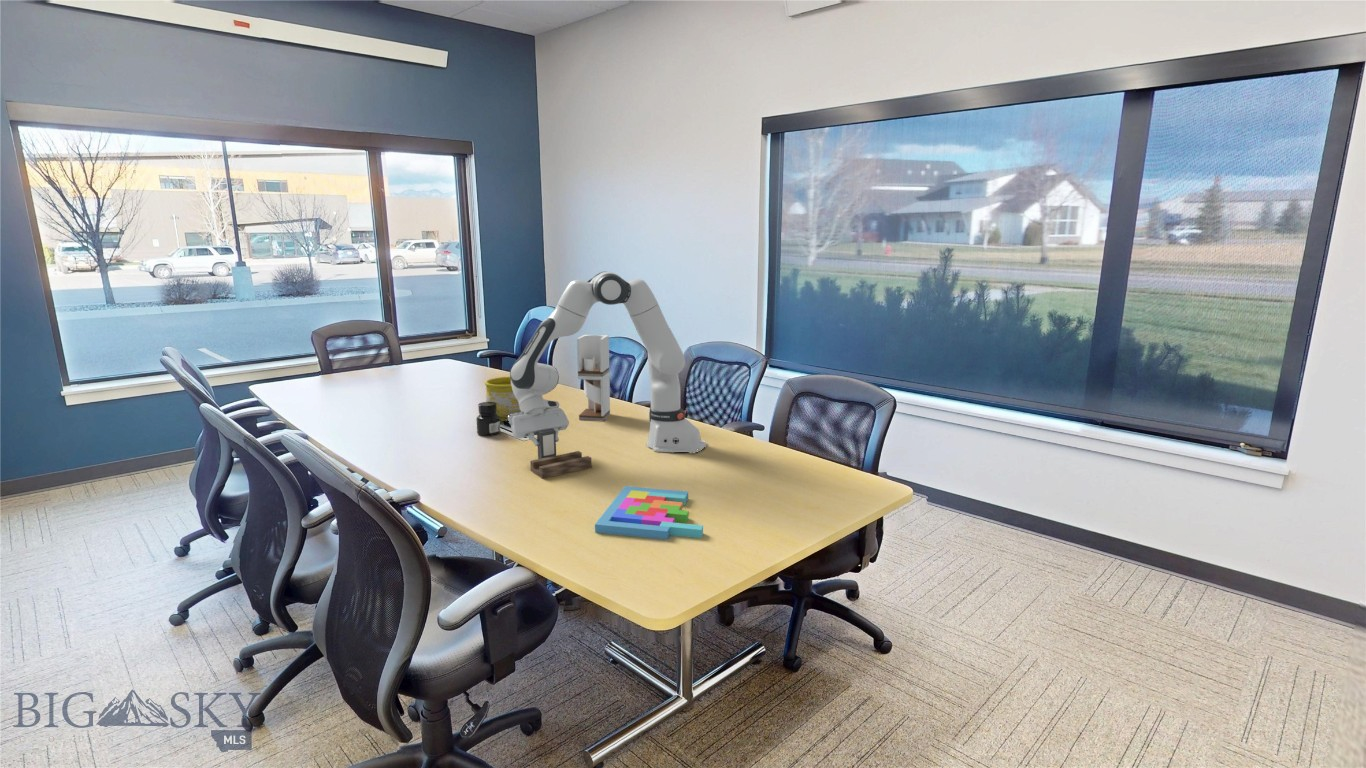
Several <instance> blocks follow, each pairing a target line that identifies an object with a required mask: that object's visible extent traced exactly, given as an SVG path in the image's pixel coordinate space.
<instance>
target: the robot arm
mask: <svg viewBox="0 0 1366 768" xmlns="http://www.w3.org/2000/svg"><path fill="white" fill-rule="evenodd" d="M598 302H599V303H602V304H605V305H609V306H610V305H611V306H612V305H613V306H614V305H620V304H623V305H624V307H625V309H626V311H627V313H628V315H629V317H630V319H631V321H632V324H633V326H634V327H635V330H636V331H637V333H638V334H637V335H638V336H639V338H640V340H641V341H642V343H643V345H644V347H645V349H646V352H647V363H648V366H647V367H648V375H649V382H650V383H649V384H650V407H649V413H648V417H649V422H650V423H649V431H648V436H647V437H648V438H647V441H646V446H647V447H648V448H650V449H653V451H654V452H657V453H674V452H697V451H700V450H701V449H703V448H704V447H705V446H706V447H707V441H706V440H704V439H703V440H702V439H701V433H700V430H699V428H698V427H697V426H696V425H694V424H693V423H692V422H691V421H690V420H688V419H687V418H686V413H687V409H685V410H684V409H683V408H682V407H681V384H680V379H679V374H680V373H681V372H682V371H683V369H684V367H685V366H686V359H685V355H684V353H683V351H682V348H681V347H680V344H679V343H678V340H677V339H676V336H675V335H674V334H673V332H672V330H671V328H670V326H669V324H668V322H667V320H666V317H665V316H664V313H663V312H662V310H661V306H660V305H659V301H657V298H656V297H655V294H654V293H653V291H652V289H651V287H649V285H648V284H647V282H646V281H645V280H643V279H641V278H640V279H639V278H635V279H632V280H629V281H627V280H625V279H623V278H622V277H621V276H619V274H617V273H615V272H613V271H602V272H599V273H597V274H596V275H594V276H593V277H592V278H590V279H589V280H587V281H585V280H582V279H574V280H571V281H570V282H569V283H568V285H567V286H566V288H565V289H564V291H563V293H562V294H561V296H560V298H559V300H558V302H557V304H556V306H555V308H554V309H553V311H552V312H551V314H549V316H548V317H546V318H545V319H543V320H542V321H541V323H540V324H539V325H538V327H537V328H536V329H535V331H534V333H533V335H532V336H531V338H530V340H529V341H528V343H527V344H526V346H525V348H524V350H523V351H522V353H521V354H520V356H519V357H518V358H517V359H516V361H515V362H514V363H513V364H512V366H511V368H510V371H509V377H510V378H511V386H512V390H513V393H514V395H515V398H516V399H517V400H518V402H519V408H520V410H521V412H518V413H512V414H510V415H509V416H508V421H509V422H508V424H509V425H510V428H511V432H512V436H513V437H514V438H515V439H521V438H528V440H530V441H531V442H532V443H533V444H534V446H535V447H538V446H539V445H540V444H541V443H540V440H539V439H537V437H535V436H537V431H540V430H545V429H550V428H552V429H554V430H555V435H556V443H558V442H559V441H560V438H559V432H560V431H565V430H567V428H568V427H569V424H570V422H569V419H568V417H567V415H566V413H565V411H564V410H563V408H561V407H560V403H559V401H556V400H551V399H549V400H548V399H544V398H543V396H544V395H546V394H548V393H550V392H552V391H554V389H556V387H557V385H558V384H559V379H560V376H559V375H560V374H559V372H558V369H557V368H556V367H555V366H553V365H550V364H546V363H540V362H539V360H540V359H541V356H542V355H543V354H544V352H545V350H546V349H547V347H548V345H549V344H551V342H552V341H554V340H557V339H559V338H564V337H570V336H573V335H575V334H577V333H579V332H580V330H581V329H582V328H583V326H584V324H585V322H586V320H587V318H588V315H589V312H590V311H591V308H592V307H593V306H594V305H595V304H596V303H598ZM706 447H705V448H706ZM697 449H698V450H697ZM700 452H701V451H700Z"/></svg>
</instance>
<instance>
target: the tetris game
mask: <svg viewBox="0 0 1366 768" xmlns="http://www.w3.org/2000/svg"><path fill="white" fill-rule="evenodd" d="M687 499H688V500H689V491H686V490H676V489H675V490H673V489H663V488H661V489H660V488H652V487H651V488H650V487H637V486H624V487H623V488H622V490H620V492H619V493H618V494H617V496H616V497H615V498H614V500H613V501H612V502H611V504H610V505H609V506H608V507H607V508H606V510H605V511H604V512H603V513H602V515H601V516H600V517H599V519H598V520H597V521H596V522H595V524H594V533H597V534H598V533H599V534H610V535H618V536H629V537H637V538H639V537H640V538H648V539H649V538H650V539H658V540H659V539H660V540H668V539H669V538H670V536H675V537H676V536H677V537H688V538H696V539H702V537H703V534H704V525H702V524H701V525H700V524H692V523H688V521H687V520H689V510H684V509H683V507H684V506H683V505H685V506H686V504H687V502H688V500H687ZM686 501H687V502H686ZM685 503H686V504H685ZM682 509H683V510H682ZM674 521H676V522H674ZM684 522H687V523H684Z"/></svg>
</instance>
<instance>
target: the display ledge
mask: <svg viewBox="0 0 1366 768" xmlns="http://www.w3.org/2000/svg"><path fill="white" fill-rule="evenodd" d="M529 464H530V471H531V472H532V473H533V474H535V475H536V476H538V477H539V478H541V479H543V480H544V479H547V478H552V477H556V476H562V475H565V474H569V473H573V472H579V471H582V470H583V471H584V470H588V469H591V468H592V467H593V465H592V464H593V463H592V457H591V456H589V455H586V456H583V452H581V451H579V450H577V451H572V452H566V453H562V454H556V456H552V457H547V458H542V459H538V458H537V459H533V460H530V463H529Z"/></svg>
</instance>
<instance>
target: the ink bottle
mask: <svg viewBox="0 0 1366 768" xmlns="http://www.w3.org/2000/svg"><path fill="white" fill-rule="evenodd" d="M477 406H478V407H477V408H478V409H477V410H478V415H477V416H476V432H477V435H479V436H482V437H483V436H485V437H486V436H489V437H490V436H495V435H498V434H500V433H501V422H500V417H499V415H497V413H496V412H497V407H496V403H495V402H486V401H482V402H479V403H478V404H477Z"/></svg>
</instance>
